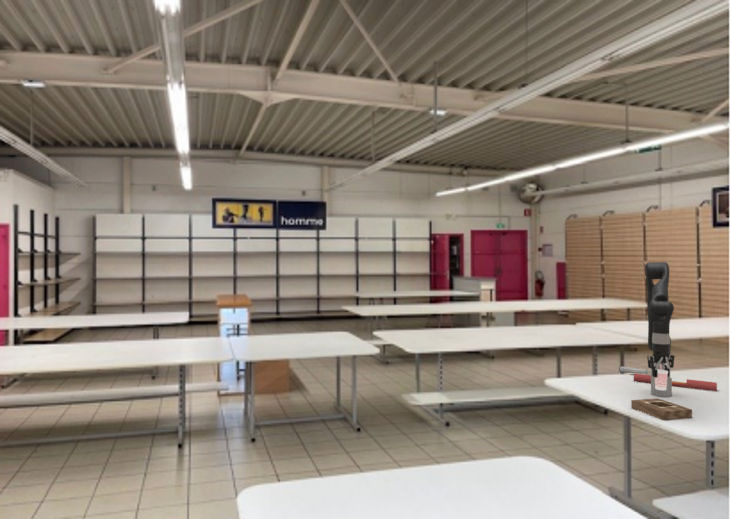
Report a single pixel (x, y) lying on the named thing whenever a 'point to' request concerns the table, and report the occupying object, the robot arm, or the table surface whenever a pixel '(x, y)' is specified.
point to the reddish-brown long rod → (681, 383)
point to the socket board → (661, 409)
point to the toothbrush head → (634, 370)
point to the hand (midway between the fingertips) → (660, 376)
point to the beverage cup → (661, 379)
